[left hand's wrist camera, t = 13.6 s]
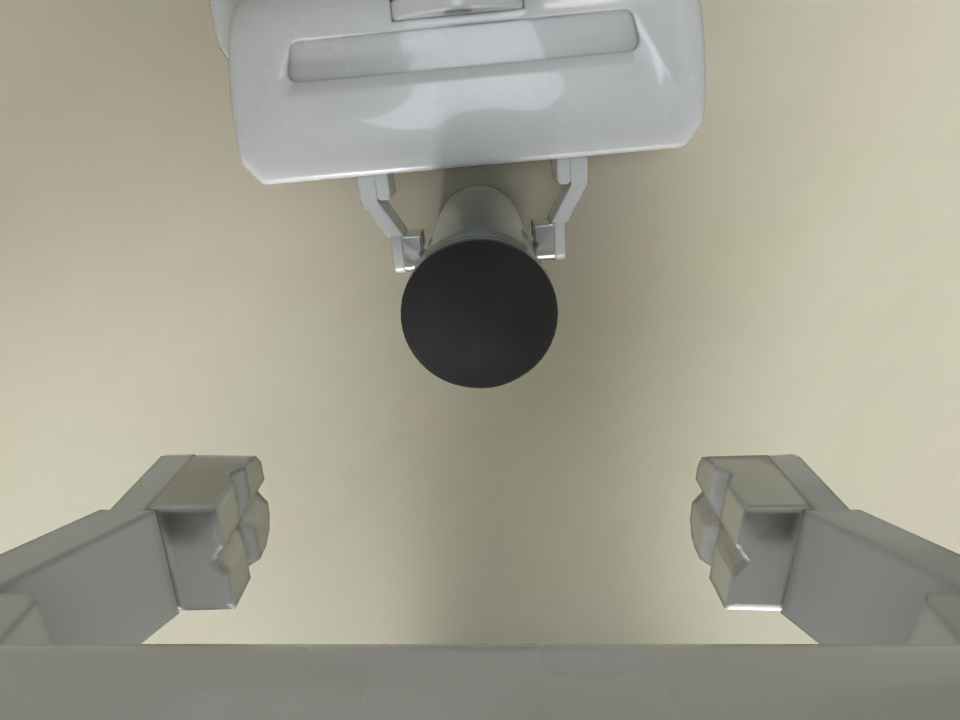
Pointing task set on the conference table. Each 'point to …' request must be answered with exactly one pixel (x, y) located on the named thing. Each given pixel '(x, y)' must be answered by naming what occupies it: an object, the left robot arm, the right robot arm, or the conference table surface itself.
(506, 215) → the blue-grey cylinder
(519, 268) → the lid
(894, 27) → the conference table surface
